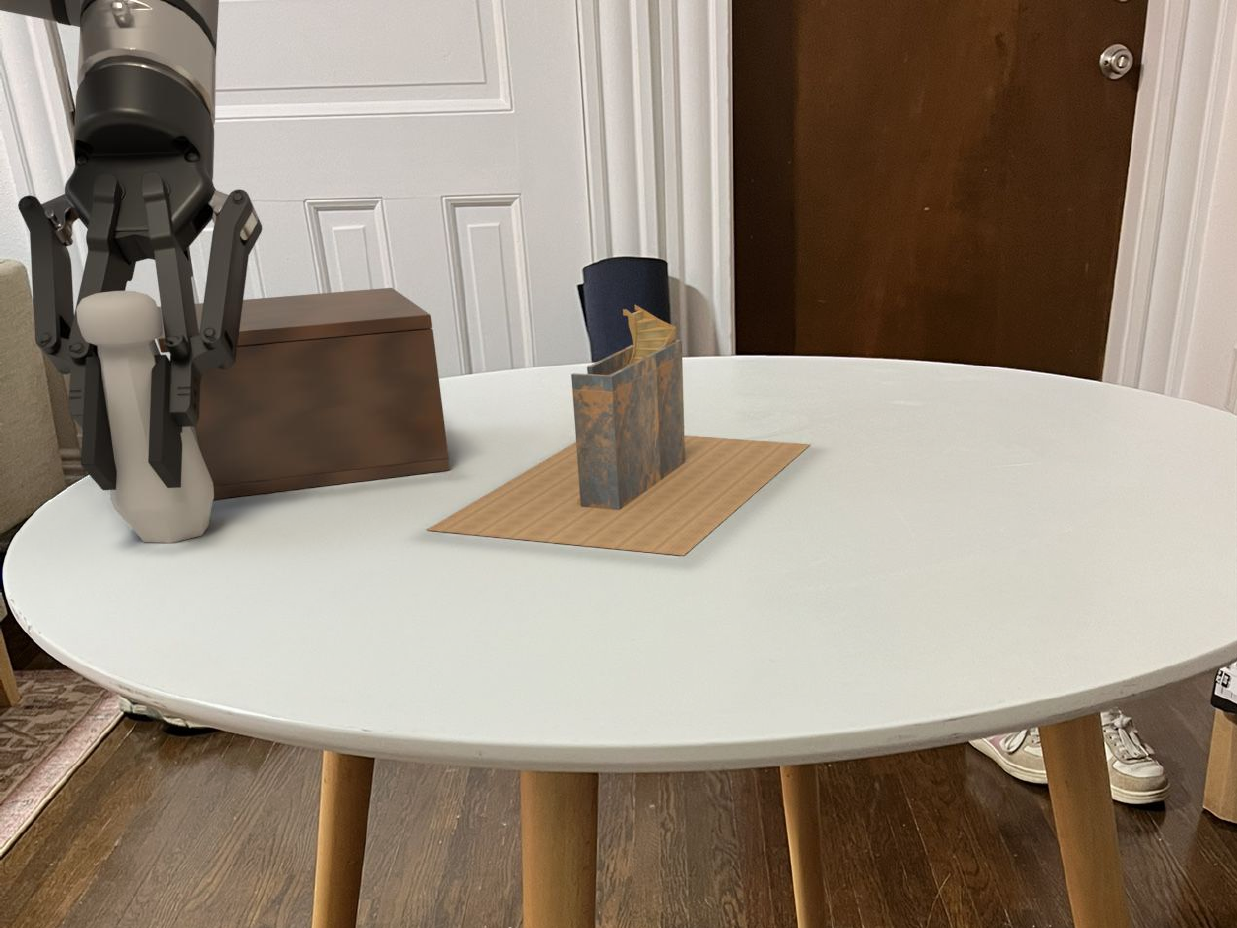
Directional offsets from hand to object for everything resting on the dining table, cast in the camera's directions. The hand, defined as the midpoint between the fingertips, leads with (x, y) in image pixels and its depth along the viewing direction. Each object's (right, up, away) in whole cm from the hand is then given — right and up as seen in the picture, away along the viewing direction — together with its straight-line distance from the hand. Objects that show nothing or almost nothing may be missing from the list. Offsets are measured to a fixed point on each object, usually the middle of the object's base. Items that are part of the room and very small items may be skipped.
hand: (131, 475), depth 73 cm
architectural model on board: (+27, +4, +12) cm, 30 cm away
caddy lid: (+5, +15, +13) cm, 20 cm away
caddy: (+5, +7, +18) cm, 20 cm away
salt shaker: (0, -2, +6) cm, 6 cm away
